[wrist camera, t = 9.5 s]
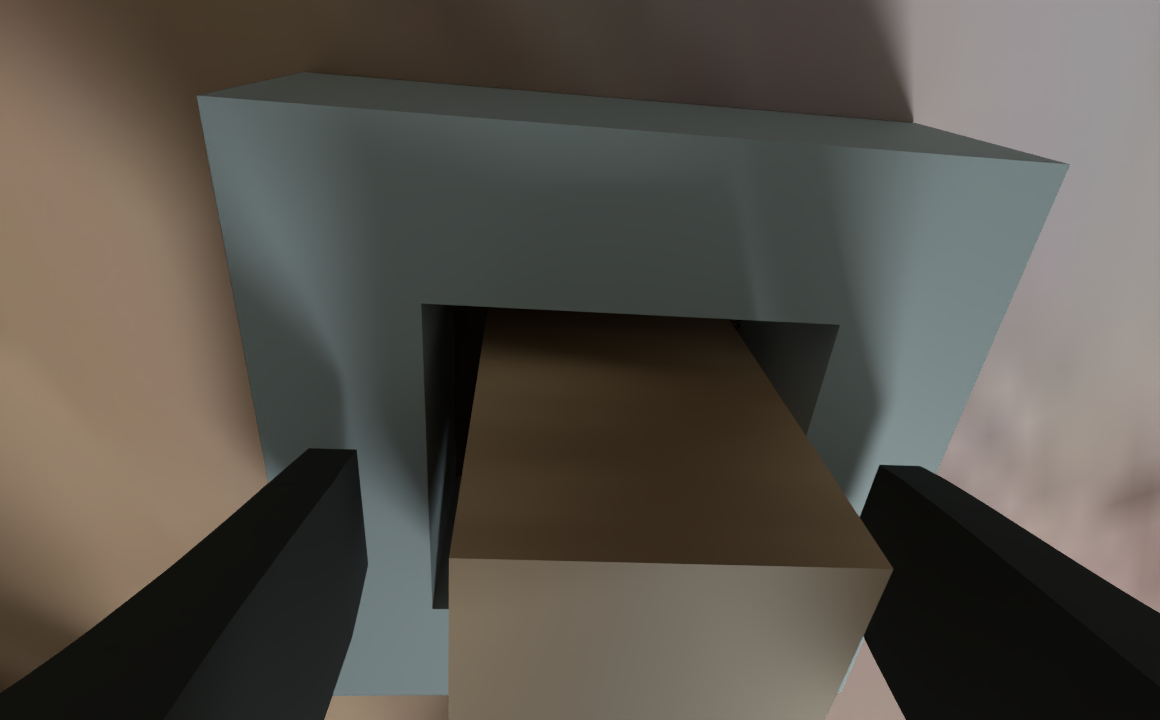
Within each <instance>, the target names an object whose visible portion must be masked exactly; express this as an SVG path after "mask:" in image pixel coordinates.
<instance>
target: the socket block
mask: <svg viewBox="0 0 1160 720" xmlns="http://www.w3.org/2000/svg"><path fill="white" fill-rule="evenodd" d="M197 101H198V106H199V112H200V117H201V123H202V128H203V133H204V139H205V144H206V149H207V155H208V160H209V166H210V171H211V176H212V182H213V187H214V193H215V198H216V203H217V209H218V214H219V219H220V225H221V230H222V236H223V241H224V246H225V252H226V257H227V263H228V268H229V273H230V279H231V284H232V290H233V295H234V300H235V306H236V311H237V316H238V322H239V327H240V333H241V338H242V343H243V349H244V354H245V360H246V365H247V370H248V376H249V381H250V386H251V392H252V397H253V403H254V408H255V413H256V419H257V424H258V430H259V435H260V440H261V446H262V451H263V456H264V462H265V467H266V473H267V478H268V483H269V482H270V481H271V480H272V479H274V478H275V477H276V476H277V475H278V474H279V473H280V472H282V471H283V470H284V469H285V468H286V467H287V466H288V465H290V464H291V463H292V462H293V461H294V460H296V459H297V458H298V457H299V456H300V455H301V454H303V453H304V452H305V451H306V450H307V449H308V448H321V449H355V450H357V457H358V467H359V477H360V487H361V497H362V507H363V517H364V527H365V537H366V547H367V557H368V568H367V573H366V577H365V582H364V587H363V592H362V596H361V601H360V605H359V610H358V614H357V618H356V623H355V627H354V631H353V636H352V639H351V642H350V645H349V648H348V651H347V654H346V657H345V660H344V663H343V666H342V669H341V672H340V675H339V678H338V681H337V684H336V687H335V689H334V692H333V695H332V696H372V695H448V651H449V555H450V548H451V542H452V536H453V529H454V523H455V516H456V510H457V504H458V497H459V491H460V484H461V478H462V476H456V474H455V384H454V305H462V306H481V307H501V308H520V309H540V310H560V311H579V312H599V313H619V314H638V315H658V316H677V317H697V318H717V319H736V320H741V325H740V329H739V335H740V336H741V338H742V339H743V341H744V342H745V344H746V346H747V347H748V349H749V350H750V352H751V353H752V355H753V356H754V358H755V359H756V361H757V362H758V364H759V365H760V367H761V368H762V370H763V371H764V373H765V374H766V376H767V377H768V379H769V380H770V382H771V384H772V385H773V387H774V388H775V390H776V391H777V393H778V394H779V396H780V397H781V399H782V400H783V402H784V403H785V405H786V406H787V408H788V409H789V411H790V412H791V414H792V415H793V417H794V418H795V420H796V422H797V423H798V425H799V426H800V428H801V429H802V431H803V432H804V434H805V435H806V437H807V438H808V440H809V441H810V443H811V444H812V446H813V447H814V449H815V450H816V452H817V453H818V455H819V456H820V458H821V460H822V461H823V463H824V464H825V466H826V467H827V469H828V470H829V472H830V473H831V475H832V476H833V478H834V479H835V481H836V482H837V484H838V485H839V487H840V488H841V490H842V491H843V493H844V494H845V496H846V498H847V499H848V501H849V502H850V504H851V505H852V507H853V508H854V510H855V511H856V513H857V514H858V516H859V517H860V515H861V512H862V510H863V507H864V504H865V502H866V499H867V496H868V494H869V491H870V488H871V486H872V483H873V480H874V478H875V475H876V472H877V470H878V467H879V465H904V466H921V467H923V468H925V469H927V470H929V471H931V472H933V473H934V474H936V472H937V470H938V468H939V465H940V463H941V461H942V458H943V456H944V454H945V451H946V449H947V447H948V445H949V442H950V440H951V438H952V435H953V433H954V431H955V428H956V426H957V424H958V421H959V419H960V417H961V415H962V412H963V410H964V408H965V405H966V403H967V401H968V398H969V396H970V394H971V391H972V389H973V387H974V384H975V382H976V380H977V378H978V375H979V373H980V371H981V368H982V366H983V364H984V361H985V359H986V357H987V354H988V352H989V350H990V348H991V345H992V343H993V341H994V338H995V336H996V334H997V331H998V329H999V327H1000V324H1001V322H1002V320H1003V318H1004V315H1005V313H1006V311H1007V308H1008V306H1009V304H1010V301H1011V299H1012V297H1013V294H1014V292H1015V290H1016V288H1017V285H1018V283H1019V281H1020V278H1021V276H1022V274H1023V271H1024V269H1025V267H1026V264H1027V262H1028V260H1029V258H1030V255H1031V253H1032V251H1033V248H1034V246H1035V244H1036V241H1037V239H1038V237H1039V234H1040V232H1041V230H1042V228H1043V225H1044V223H1045V221H1046V218H1047V216H1048V214H1049V211H1050V209H1051V207H1052V204H1053V202H1054V200H1055V197H1056V195H1057V193H1058V191H1059V188H1060V186H1061V184H1062V181H1063V179H1064V177H1065V174H1066V172H1067V170H1068V167H1069V165H1070V164H1066V163H1062V162H1058V161H1055V160H1051V159H1047V158H1044V157H1040V156H1036V155H1032V154H1029V153H1025V152H1021V151H1017V150H1014V149H1010V148H1006V147H1003V146H999V145H995V144H991V143H988V142H984V141H980V140H977V139H973V138H969V137H965V136H962V135H958V134H954V133H950V132H947V131H943V130H939V129H936V128H932V127H928V126H924V125H921V124H917V123H907V122H896V121H884V120H872V119H860V118H848V117H836V116H824V115H812V114H800V113H788V112H776V111H764V110H752V109H740V108H728V107H716V106H704V105H692V104H680V103H668V102H656V101H644V100H632V99H620V98H608V97H597V96H585V95H573V94H561V93H549V92H537V91H525V90H513V89H501V88H489V87H477V86H465V85H453V84H441V83H429V82H417V81H405V80H393V79H381V78H369V77H357V76H345V75H333V74H321V73H309V72H301V73H296V74H292V75H287V76H283V77H278V78H274V79H269V80H265V81H260V82H256V83H251V84H247V85H242V86H238V87H233V88H228V89H224V90H219V91H215V92H210V93H206V94H201V95H197ZM863 641H864V636H863V638H862V640H861V642H860V644H859V646H858V649H857V651H856V653H855V655H854V657H853V660H852V662H851V664H850V666H849V668H848V671H847V673H846V675H845V677H844V679H843V682H842V684H841V686H840V688H839V690H838V692H842V689H843V687H844V685H845V682H846V680H847V678H848V675H849V673H850V671H851V668H852V666H853V664H854V662H855V659H856V657H857V655H858V652H859V650H860V648H861V645H862V643H863Z"/></svg>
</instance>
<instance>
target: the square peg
mask: <svg viewBox="0 0 1160 720" xmlns="http://www.w3.org/2000/svg"><path fill="white" fill-rule="evenodd" d="M892 571H893V567H892V566H891V564H890V563H889V561H888V560H887V558H886V557H885V555H884V554H883V552H882V551H881V549H880V548H879V546H878V545H877V543H876V542H875V540H874V539H873V537H872V536H871V534H870V532H869V531H868V529H867V528H866V526H865V525H864V523H863V522H862V520H861V519H860V517H859V516H858V514H857V513H856V511H855V510H854V508H853V507H852V505H851V504H850V502H849V501H848V499H847V498H846V496H845V494H844V493H843V491H842V490H841V488H840V487H839V485H838V484H837V482H836V481H835V479H834V478H833V476H832V475H831V473H830V472H829V470H828V469H827V467H826V466H825V464H824V463H823V461H822V460H821V458H820V456H819V455H818V453H817V452H816V450H815V449H814V447H813V446H812V444H811V443H810V441H809V440H808V438H807V437H806V435H805V434H804V432H803V431H802V429H801V428H800V426H799V425H798V423H797V422H796V420H795V418H794V417H793V415H792V414H791V412H790V411H789V409H788V408H787V406H786V405H785V403H784V402H783V400H782V399H781V397H780V396H779V394H778V393H777V391H776V390H775V388H774V387H773V385H772V384H771V382H770V380H769V379H768V377H767V376H766V374H765V373H764V371H763V370H762V368H761V367H760V365H759V364H758V362H757V361H756V359H755V358H754V356H753V355H752V353H751V352H750V350H749V349H748V347H747V346H746V344H745V342H744V341H743V339H742V338H741V336H740V335H739V333H738V332H737V330H736V329H735V327H734V326H733V324H732V323H731V321H730V320H729V319H717V318H697V317H677V316H658V315H638V314H619V313H599V312H579V311H560V310H540V309H520V308H501V307H488V312H487V318H486V325H485V331H484V337H483V344H482V350H481V357H480V363H479V369H478V376H477V382H476V389H475V395H474V401H473V408H472V414H471V421H470V427H469V433H468V440H467V446H466V453H465V459H464V465H463V472H462V478H461V484H460V491H459V497H458V504H457V510H456V516H455V523H454V529H453V536H452V542H451V548H450V555H449V651H448V720H825V719H826V717H827V715H828V712H829V710H830V708H831V706H832V704H833V701H834V699H835V697H836V695H837V693H838V690H839V688H840V686H841V684H842V682H843V679H844V677H845V675H846V673H847V671H848V668H849V666H850V664H851V662H852V660H853V657H854V655H855V653H856V651H857V649H858V646H859V644H860V642H861V640H862V638H863V635H864V633H865V631H866V629H867V627H868V624H869V622H870V620H871V618H872V615H873V613H874V611H875V609H876V607H877V604H878V602H879V600H880V598H881V596H882V593H883V591H884V589H885V587H886V585H887V582H888V580H889V578H890V576H891V574H892Z"/></svg>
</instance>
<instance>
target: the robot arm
mask: <svg viewBox="0 0 1160 720" xmlns="http://www.w3.org/2000/svg"><path fill="white" fill-rule="evenodd" d="M860 519H861V520H862V522H863V523H864V525H865V526H866V528H867V529H868V531H869V532H870V534H871V536H872V537H873V539H874V540H875V542H876V543H877V545H878V546H879V548H880V549H881V551H882V552H883V554H884V555H885V557H886V558H887V560H888V561H889V563H890V564H891V566H892V567H893V571H892V574H891V576H890V578H889V580H888V582H887V585H886V587H885V589H884V591H883V593H882V596H881V598H880V600H879V602H878V604H877V607H876V609H875V611H874V613H873V615H872V618H871V620H870V622H869V624H868V627H867V629H866V631H865V633H864V635H863V636H864V639H865V641H866V643H867V645H868V647H869V649H870V651H871V653H872V655H873V657H874V659H875V661H876V663H877V665H878V667H879V669H880V670H881V672H882V674H883V676H884V678H885V680H886V682H887V684H888V686H889V688H890V690H891V692H892V694H893V696H894V698H895V700H896V702H897V704H898V705H899V707H900V709H901V711H902V713H903V715H904V717H905V719H906V720H1160V613H1159V612H1157V611H1155V610H1153V609H1152V608H1150V607H1148V606H1147V605H1145V604H1143V603H1142V602H1140V601H1138V600H1137V599H1135V598H1133V597H1132V596H1130V595H1129V594H1127V593H1125V592H1124V591H1122V590H1120V589H1119V588H1117V587H1115V586H1114V585H1112V584H1111V583H1109V582H1107V581H1106V580H1104V579H1102V578H1101V577H1099V576H1098V575H1096V574H1094V573H1093V572H1091V571H1090V570H1088V569H1086V568H1085V567H1083V566H1082V565H1080V564H1079V563H1077V562H1075V561H1074V560H1072V559H1071V558H1069V557H1067V556H1066V555H1064V554H1063V553H1061V552H1060V551H1058V550H1056V549H1055V548H1053V547H1052V546H1050V545H1049V544H1047V543H1045V542H1044V541H1042V540H1041V539H1039V538H1038V537H1036V536H1035V535H1033V534H1031V533H1030V532H1028V531H1027V530H1025V529H1024V528H1022V527H1020V526H1019V525H1017V524H1016V523H1014V522H1013V521H1011V520H1010V519H1008V518H1006V517H1005V516H1003V515H1002V514H1000V513H999V512H997V511H995V510H994V509H992V508H991V507H989V506H988V505H986V504H984V503H983V502H981V501H980V500H978V499H976V498H975V497H973V496H972V495H970V494H968V493H967V492H965V491H963V490H962V489H960V488H959V487H957V486H955V485H954V484H952V483H950V482H949V481H947V480H945V479H943V478H942V477H940V476H938V475H936V474H934V473H933V472H931V471H929V470H927V469H925V468H923V467H921V466H904V465H879V467H878V470H877V472H876V475H875V478H874V480H873V483H872V486H871V488H870V491H869V494H868V496H867V499H866V502H865V504H864V507H863V510H862V512H861V515H860ZM367 568H368V557H367V547H366V537H365V527H364V517H363V507H362V497H361V487H360V477H359V467H358V457H357V450H355V449H321V448H308V449H307V450H306V451H305V452H304V453H303V454H301V455H300V456H299V457H298V458H297V459H296V460H294V461H293V462H292V463H291V464H290V465H288V466H287V467H286V468H285V469H284V470H283V471H282V472H280V473H279V474H278V475H277V476H276V477H275V478H274V479H272V480H271V481H270V482H269V483H268V484H267V485H266V486H264V487H263V488H262V489H261V490H260V491H259V492H258V493H257V494H255V495H254V496H253V497H252V498H251V499H250V500H249V501H247V502H246V503H245V504H244V505H243V506H242V507H241V508H239V509H238V510H237V511H236V512H235V513H234V514H233V515H231V516H230V517H229V518H228V519H227V520H226V521H224V522H223V523H222V524H221V525H220V526H219V527H217V528H216V529H215V530H214V531H213V532H211V533H210V534H209V535H208V536H207V537H206V538H204V539H203V540H202V541H201V542H200V543H198V544H197V545H196V546H195V547H194V548H192V549H191V550H190V551H189V552H188V553H187V554H185V555H184V556H183V557H182V558H181V559H179V560H178V561H177V562H176V563H175V564H173V565H172V566H171V567H170V568H169V569H167V570H166V571H165V572H164V573H162V574H161V575H160V576H158V577H157V578H156V579H155V580H153V581H152V582H151V583H149V584H148V585H147V586H146V587H144V588H143V589H142V590H141V591H139V592H138V593H137V594H135V595H134V596H133V597H132V598H130V599H129V600H128V601H126V602H125V603H124V604H123V605H121V606H120V607H119V608H117V609H116V610H115V611H114V612H112V613H111V614H110V615H108V616H107V617H106V618H105V619H103V620H102V621H101V622H100V623H98V624H97V625H96V626H94V627H93V628H92V629H91V630H89V631H88V632H86V633H85V634H84V635H82V636H81V637H80V638H78V639H77V640H76V641H74V642H73V643H71V644H70V645H69V646H67V647H66V648H65V649H63V650H62V651H61V652H59V653H58V654H56V655H55V656H53V657H52V658H51V659H49V660H48V661H46V662H45V663H44V664H42V665H41V666H39V667H38V668H37V669H35V670H34V671H32V672H31V673H30V674H28V675H27V676H25V677H24V678H22V679H21V680H19V681H18V682H16V683H15V684H13V685H12V686H11V687H9V688H8V689H6V690H5V691H3V692H2V693H0V720H324V718H325V716H326V713H327V710H328V707H329V704H330V701H331V698H332V695H333V692H334V689H335V687H336V684H337V681H338V678H339V675H340V672H341V669H342V666H343V663H344V660H345V657H346V654H347V651H348V648H349V645H350V642H351V639H352V636H353V631H354V627H355V623H356V618H357V614H358V610H359V605H360V601H361V596H362V592H363V587H364V582H365V577H366V573H367Z"/></svg>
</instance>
